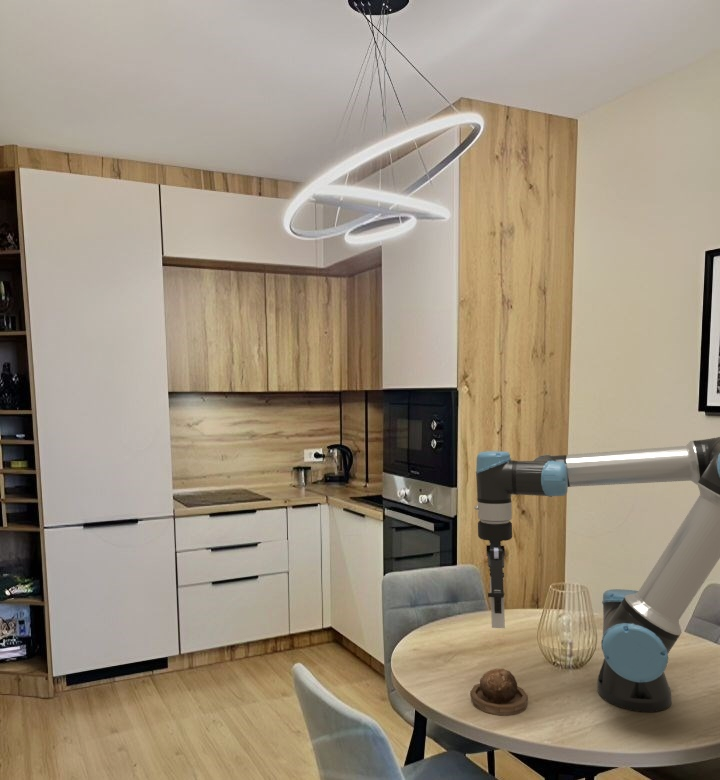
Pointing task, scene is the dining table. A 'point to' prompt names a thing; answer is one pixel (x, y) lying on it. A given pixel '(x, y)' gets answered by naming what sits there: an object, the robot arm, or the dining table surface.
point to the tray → (501, 709)
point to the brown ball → (498, 685)
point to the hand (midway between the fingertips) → (497, 616)
